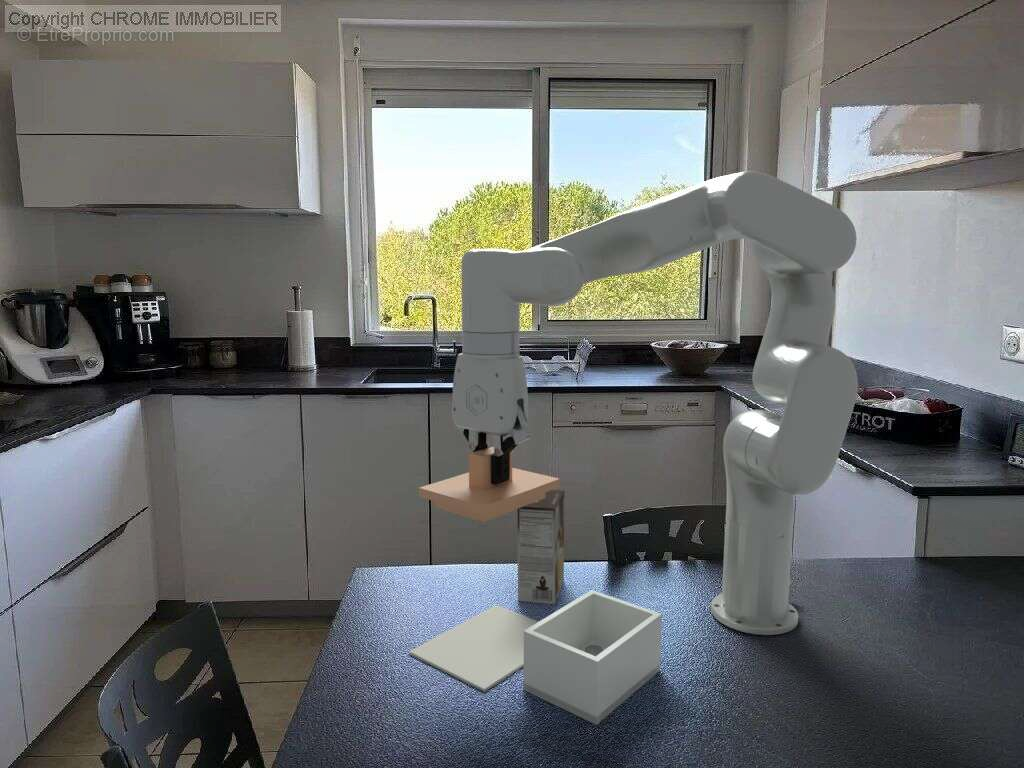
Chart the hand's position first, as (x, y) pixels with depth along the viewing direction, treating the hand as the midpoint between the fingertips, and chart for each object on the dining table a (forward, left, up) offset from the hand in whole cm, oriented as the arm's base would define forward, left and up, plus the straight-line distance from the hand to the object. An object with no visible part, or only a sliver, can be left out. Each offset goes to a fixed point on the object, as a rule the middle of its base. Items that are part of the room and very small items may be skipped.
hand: (491, 478), depth 99 cm
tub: (-2, +16, -24) cm, 29 cm away
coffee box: (-18, -5, -25) cm, 31 cm away
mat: (0, 0, -24) cm, 24 cm away
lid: (0, 0, -3) cm, 3 cm away
